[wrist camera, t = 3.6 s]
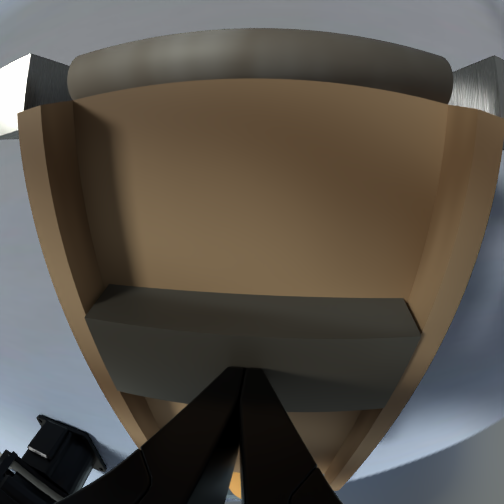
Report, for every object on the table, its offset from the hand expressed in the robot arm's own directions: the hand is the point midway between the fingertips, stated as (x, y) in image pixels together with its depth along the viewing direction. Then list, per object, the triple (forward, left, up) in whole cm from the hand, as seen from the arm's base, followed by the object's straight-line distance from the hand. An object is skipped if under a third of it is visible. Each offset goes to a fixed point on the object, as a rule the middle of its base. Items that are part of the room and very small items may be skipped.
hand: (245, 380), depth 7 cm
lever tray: (-1, 0, -3) cm, 3 cm away
